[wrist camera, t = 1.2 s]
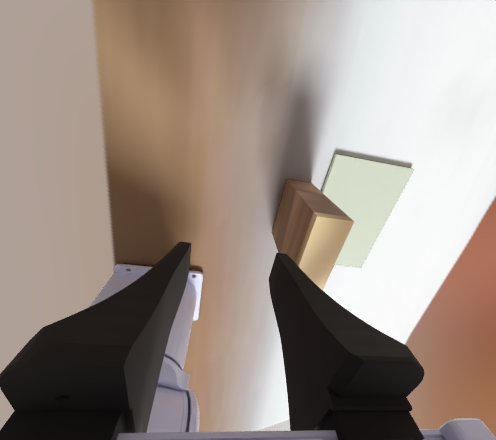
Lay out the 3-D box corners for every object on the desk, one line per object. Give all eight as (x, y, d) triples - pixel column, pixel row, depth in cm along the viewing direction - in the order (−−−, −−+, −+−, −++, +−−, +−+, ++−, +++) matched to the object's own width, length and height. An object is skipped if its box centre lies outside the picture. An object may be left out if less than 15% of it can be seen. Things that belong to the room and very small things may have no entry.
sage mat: (297, 258, 24) (298, 261, 24) (334, 153, 19) (336, 154, 19) (359, 265, 25) (361, 267, 25) (411, 168, 20) (414, 169, 20)
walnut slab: (272, 232, 22) (290, 288, 15) (286, 178, 20) (317, 216, 13) (294, 235, 23) (322, 291, 16) (311, 183, 20) (354, 221, 13)
